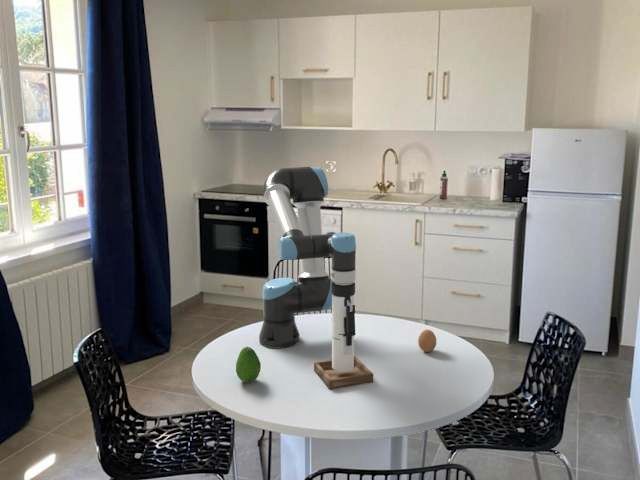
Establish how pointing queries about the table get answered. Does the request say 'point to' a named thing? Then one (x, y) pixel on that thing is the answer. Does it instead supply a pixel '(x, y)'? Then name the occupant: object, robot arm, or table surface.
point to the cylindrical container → (340, 336)
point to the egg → (427, 340)
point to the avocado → (248, 365)
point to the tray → (343, 374)
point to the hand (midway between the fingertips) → (343, 349)
